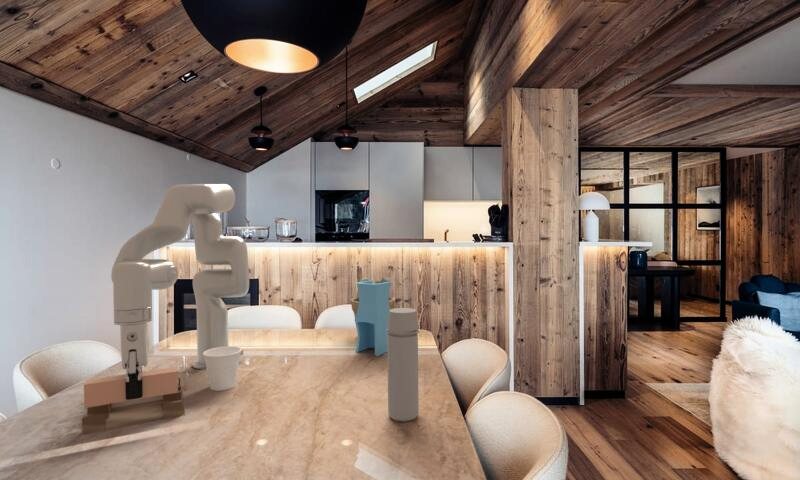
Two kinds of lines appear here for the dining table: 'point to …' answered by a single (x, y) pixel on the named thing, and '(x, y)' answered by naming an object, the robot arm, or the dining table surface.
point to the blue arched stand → (372, 316)
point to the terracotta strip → (115, 388)
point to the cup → (222, 367)
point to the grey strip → (137, 401)
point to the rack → (133, 413)
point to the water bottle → (402, 364)
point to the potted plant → (386, 279)
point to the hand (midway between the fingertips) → (134, 394)
